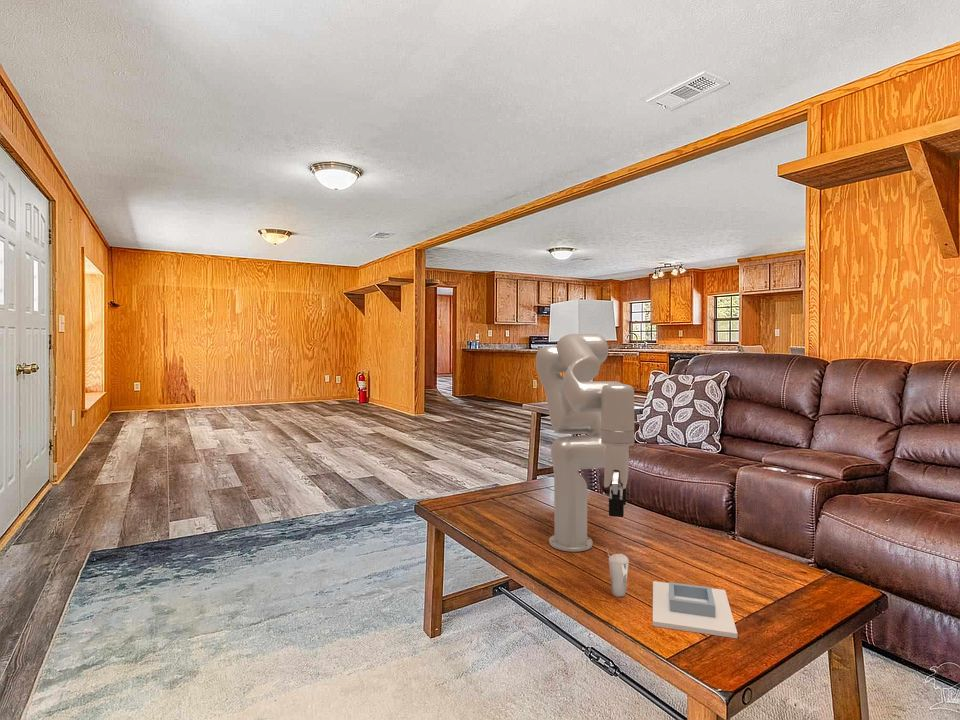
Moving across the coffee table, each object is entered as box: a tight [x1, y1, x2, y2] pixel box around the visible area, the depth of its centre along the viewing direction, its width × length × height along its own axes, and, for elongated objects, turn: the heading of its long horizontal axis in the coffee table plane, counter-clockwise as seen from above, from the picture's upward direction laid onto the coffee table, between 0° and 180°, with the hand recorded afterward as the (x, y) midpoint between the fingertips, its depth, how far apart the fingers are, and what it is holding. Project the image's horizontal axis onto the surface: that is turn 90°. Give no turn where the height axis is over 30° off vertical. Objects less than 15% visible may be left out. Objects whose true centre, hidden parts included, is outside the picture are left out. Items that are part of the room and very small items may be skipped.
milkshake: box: [606, 548, 630, 598], centre depth 126 cm, size 4×5×10 cm
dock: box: [652, 580, 738, 640], centre depth 118 cm, size 20×16×4 cm
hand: (617, 510), depth 126 cm, fingers open, 9 cm apart
